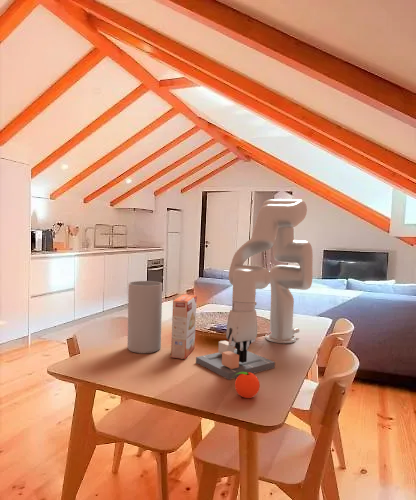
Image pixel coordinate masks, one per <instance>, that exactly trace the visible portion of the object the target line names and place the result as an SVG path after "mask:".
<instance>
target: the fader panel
mask: <svg viewBox="0 0 416 500" xmlns="http://www.w3.org/2000/svg"><path fill="white" fill-rule="evenodd" d="M234 353H235V354H237V349H236V348H234ZM195 363H196V364H198V365H199V364H200V365H199V366H202V367H204V368H205V367H206V369H207V368H208V370H209V369H210V371H211V372H214V373H215V374H217V375H219V376H221V377H222V378H225V379H227V380H230V381H231V380H233V379H237V377H238V376H239V375H240V374H237V373H239V372H250V373H253V374H256V373H260V372H264V371H268V370H270V369H274V368H275V367H276V366H275V365H276V362H275V361H274V360H271V359H268V358H266V357H263V356H261V355H258V354H256V353H253V352H251V351H249V350H247V361H246V362H243V363H242V362H239V367H238V368H234V369H230V368H228V367H226V366H224V365H222V354H220V353H218V352H215V353H209V354H205V355H200V356H196V357H195ZM235 374H236V375H235ZM233 376H234V377H233Z"/></svg>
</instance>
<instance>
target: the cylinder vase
mask: <svg viewBox="0 0 416 500" xmlns="http://www.w3.org/2000/svg"><path fill="white" fill-rule="evenodd" d="M127 293H128V299H127V301H128V302H127V307H128V308H127V345H126V346H127V349H128V351H130V352H131V353H136V354H150V353H155V352H158V351H160V349H161V348H162V312H163V311H162V309H163V308H162V307H163V282H159V281H153V280H138V281H136V280H135V281H130V282H129V283H128V292H127Z"/></svg>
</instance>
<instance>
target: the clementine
mask: <svg viewBox="0 0 416 500" xmlns="http://www.w3.org/2000/svg"><path fill="white" fill-rule="evenodd" d="M237 374H240V375H239V376H238V377H237V378H235V382H234V389H235V391H236V393H237V395H239V396H240V397H242V398H244V399H252V398H253V397H256V395H257V394H258V392H260V387H261V384H260V380H259V378H258V377H257V376H256V374H255V373H250V372H239V373H237ZM235 375H236V374H235ZM233 377H234V376H233Z"/></svg>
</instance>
